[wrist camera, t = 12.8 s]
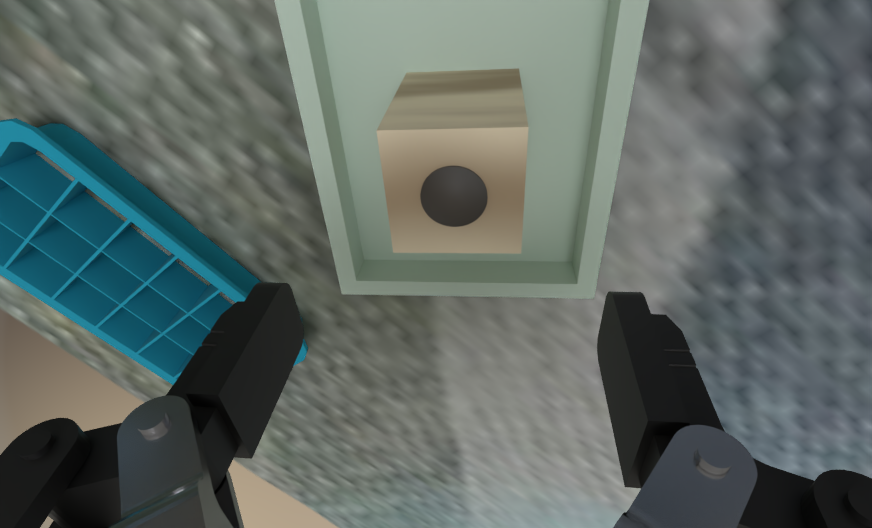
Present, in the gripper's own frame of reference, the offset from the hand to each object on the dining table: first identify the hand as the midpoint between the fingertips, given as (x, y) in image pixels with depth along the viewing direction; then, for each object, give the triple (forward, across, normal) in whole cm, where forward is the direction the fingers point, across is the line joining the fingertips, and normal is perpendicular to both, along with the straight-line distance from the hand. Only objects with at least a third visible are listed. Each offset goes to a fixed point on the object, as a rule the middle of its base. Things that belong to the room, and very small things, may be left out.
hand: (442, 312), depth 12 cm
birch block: (+13, 0, 0) cm, 13 cm away
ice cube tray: (+14, +21, +10) cm, 27 cm away
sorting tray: (+14, 0, 0) cm, 14 cm away
